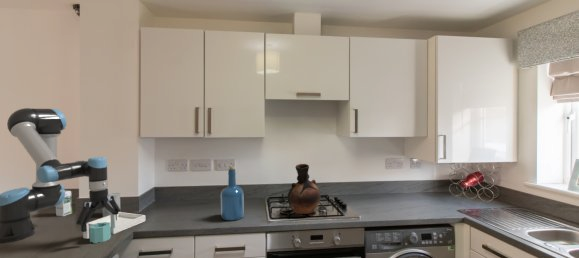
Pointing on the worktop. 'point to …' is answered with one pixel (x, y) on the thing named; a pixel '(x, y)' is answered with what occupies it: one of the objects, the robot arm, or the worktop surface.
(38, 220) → the worktop surface
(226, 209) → the wine bottle
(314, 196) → the ceramic vessel
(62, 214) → the syrup box
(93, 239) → the teal faceted pot
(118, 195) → the grey cylinder
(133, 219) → the tray
